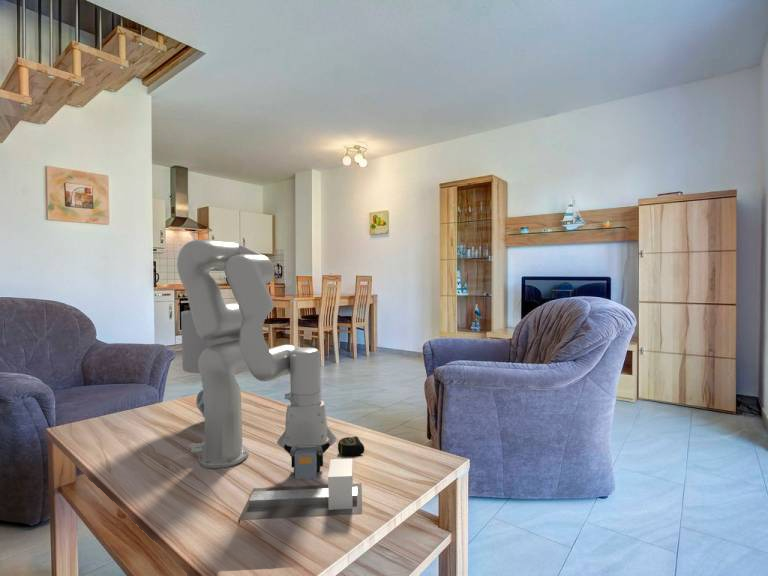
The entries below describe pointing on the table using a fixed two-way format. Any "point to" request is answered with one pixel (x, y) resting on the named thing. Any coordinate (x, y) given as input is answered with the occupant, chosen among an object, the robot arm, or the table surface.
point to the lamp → (194, 350)
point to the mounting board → (298, 506)
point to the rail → (292, 497)
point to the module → (306, 462)
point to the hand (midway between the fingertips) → (307, 468)
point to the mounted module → (340, 484)
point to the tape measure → (350, 446)
